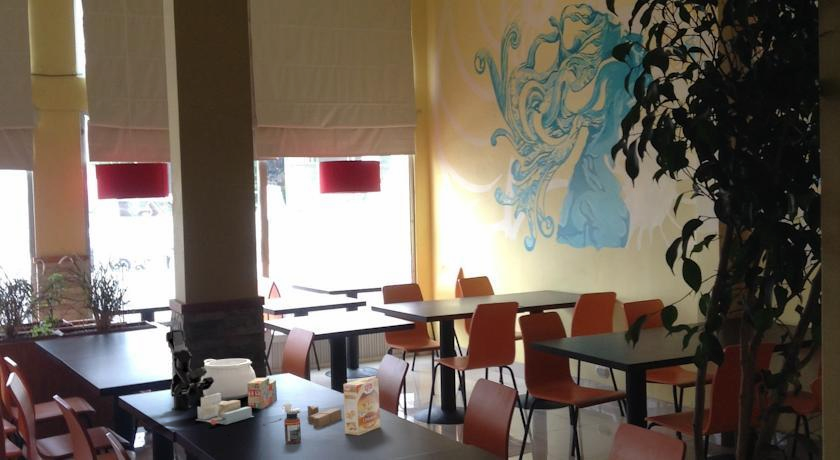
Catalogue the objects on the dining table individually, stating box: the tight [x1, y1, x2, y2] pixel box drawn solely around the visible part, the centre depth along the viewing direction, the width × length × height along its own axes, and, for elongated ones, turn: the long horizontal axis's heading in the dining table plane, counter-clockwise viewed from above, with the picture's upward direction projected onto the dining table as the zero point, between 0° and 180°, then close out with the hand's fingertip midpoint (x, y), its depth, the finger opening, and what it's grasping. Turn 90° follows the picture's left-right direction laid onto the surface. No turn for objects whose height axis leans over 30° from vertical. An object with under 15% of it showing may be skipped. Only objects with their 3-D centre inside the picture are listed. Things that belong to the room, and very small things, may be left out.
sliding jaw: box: [196, 393, 228, 420], centre depth 371 cm, size 4×14×9 cm, turn 145°
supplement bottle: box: [283, 411, 302, 445], centre depth 325 cm, size 6×6×11 cm
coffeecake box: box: [342, 377, 381, 436], centre depth 339 cm, size 15×7×20 cm, turn 148°
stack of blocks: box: [247, 377, 278, 410], centre depth 396 cm, size 21×6×12 cm, turn 170°
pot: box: [200, 358, 257, 401], centre depth 420 cm, size 29×26×17 cm
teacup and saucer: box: [281, 402, 301, 413], centre depth 377 cm, size 9×8×4 cm
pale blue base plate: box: [196, 406, 255, 426], centre depth 364 cm, size 19×22×5 cm
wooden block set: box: [307, 405, 343, 429], centre depth 357 cm, size 17×6×18 cm
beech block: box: [218, 399, 241, 419], centre depth 365 cm, size 4×9×7 cm, turn 145°
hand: (203, 400), depth 374 cm, fingers closed
